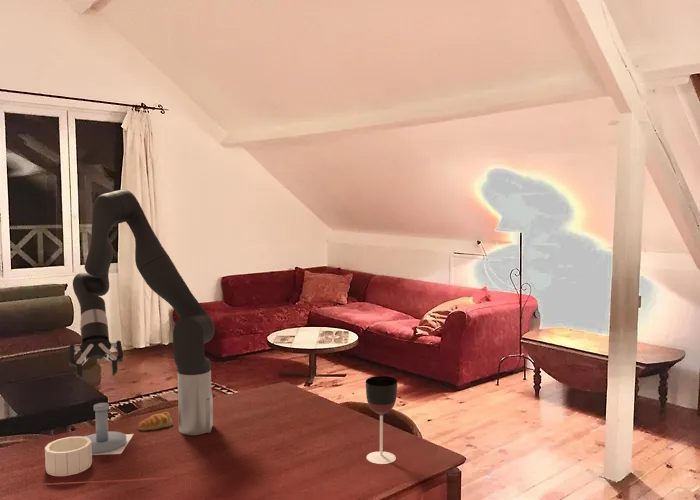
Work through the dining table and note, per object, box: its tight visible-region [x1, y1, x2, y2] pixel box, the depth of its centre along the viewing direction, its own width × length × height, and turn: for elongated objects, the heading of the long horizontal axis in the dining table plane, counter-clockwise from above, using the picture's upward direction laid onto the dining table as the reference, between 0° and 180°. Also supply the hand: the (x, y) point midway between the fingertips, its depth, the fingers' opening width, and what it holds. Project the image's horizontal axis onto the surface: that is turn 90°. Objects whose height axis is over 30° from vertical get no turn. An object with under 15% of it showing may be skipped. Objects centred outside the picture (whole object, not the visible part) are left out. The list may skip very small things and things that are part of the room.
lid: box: [85, 402, 126, 454], centre depth 158 cm, size 12×12×11 cm
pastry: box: [137, 411, 174, 431], centre depth 172 cm, size 9×7×4 cm
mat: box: [84, 433, 135, 456], centre depth 158 cm, size 13×13×1 cm
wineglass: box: [365, 375, 398, 465], centre depth 150 cm, size 8×9×20 cm
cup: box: [44, 435, 93, 477], centre depth 145 cm, size 10×10×6 cm
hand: (97, 375), depth 167 cm, fingers open, 8 cm apart
